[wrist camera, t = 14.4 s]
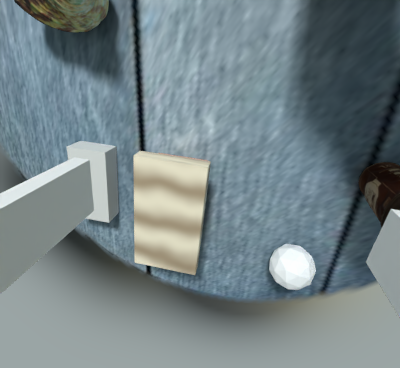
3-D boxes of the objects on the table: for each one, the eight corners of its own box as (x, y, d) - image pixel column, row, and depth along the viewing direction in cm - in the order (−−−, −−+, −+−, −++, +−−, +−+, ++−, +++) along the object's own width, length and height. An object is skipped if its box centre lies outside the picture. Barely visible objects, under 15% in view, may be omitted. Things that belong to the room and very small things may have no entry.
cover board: (140, 150, 39) (133, 155, 37) (210, 161, 38) (208, 167, 36) (140, 253, 48) (134, 262, 45) (197, 265, 46) (195, 275, 44)
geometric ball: (287, 252, 52) (280, 293, 49) (265, 235, 48) (256, 278, 45) (325, 255, 47) (320, 300, 43) (304, 236, 43) (297, 284, 39)
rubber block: (80, 140, 47) (66, 146, 44) (116, 146, 46) (105, 152, 43) (87, 206, 53) (75, 216, 49) (118, 212, 52) (109, 222, 49)
